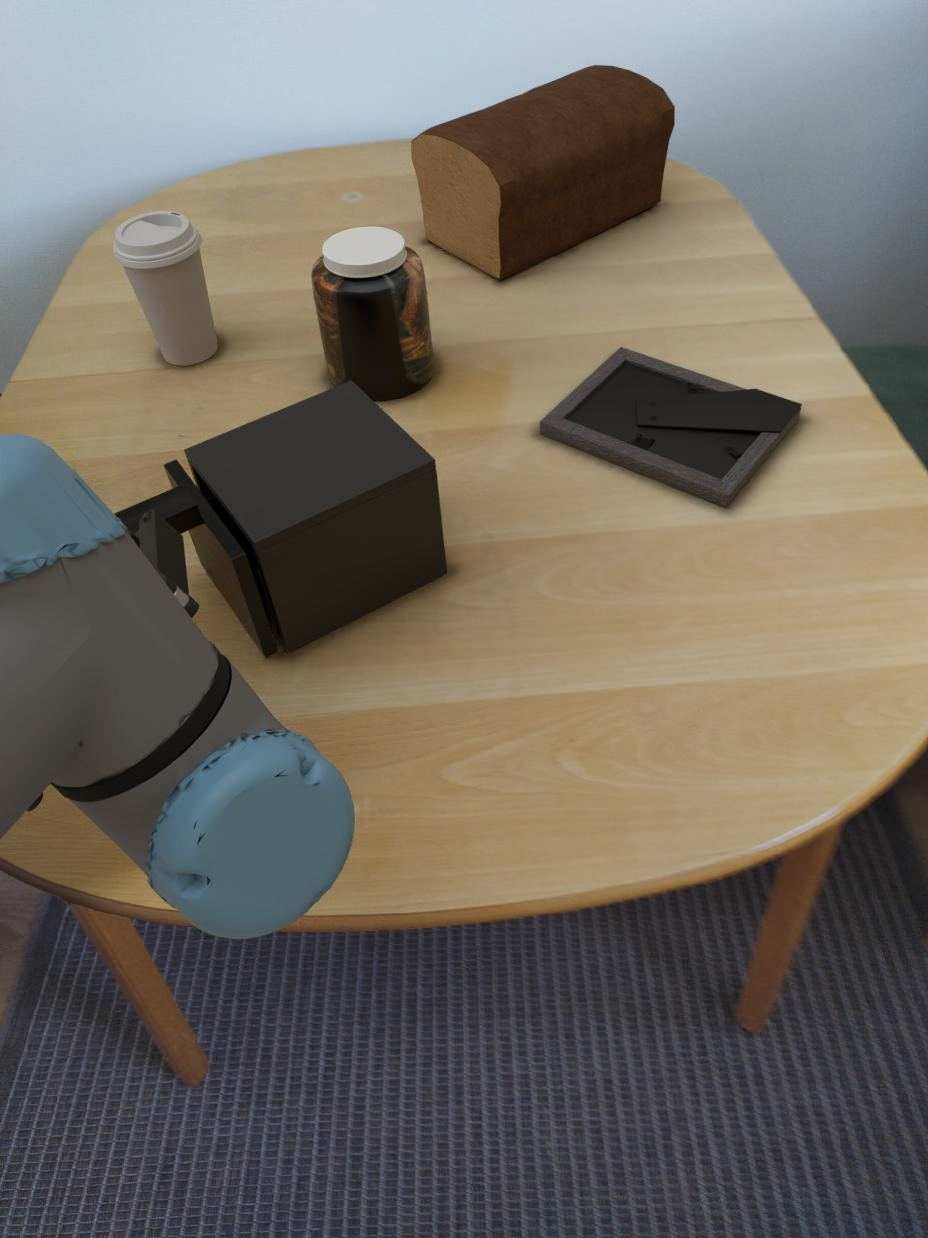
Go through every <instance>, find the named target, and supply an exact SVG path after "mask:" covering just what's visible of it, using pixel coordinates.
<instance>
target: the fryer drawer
mask: <svg viewBox="0 0 928 1238" xmlns="http://www.w3.org/2000/svg"><path fill="white" fill-rule="evenodd" d="M162 466H163V468H164V472H165V473H166V477H167V480H168V481H169V483H170V487H171V488H170V489H168V490H166V491H164V492H162V493H158V494H157V495H154V496H152V497H149V498H147V499H145V500H143V501H140V502H137V503H135V504H133V505H131V506H128V507H126V508H124V509H122V510H119V511H117V512H113V513H114V514H115V515H116V517H117V518H120V519H121V522H122V523H123V524H124V525H125V526H126V527H127V528H128V529H127V531H131V532H132V533H135V532H137V531H139V522H140V520H141V518H142V516H143V515H144V514H145V513H146V512H147V511H149V510H154V511H155V512H156V513H158V514H159V515H160V516H161V517H162V518H163V519H164V520H165V521H167V522H168V523H169V524H170V525H171V526H172V527H173V528H175V529H176V530H177V531H178V532H179V533H180V534H181V535H183V534H184V533H186V532H188V534H189V537H190V539H191V542H192V544H193V547H194V549H195V553H196V555H197V558H198V560H199V563H200V566H202V568H203V569H204V571H205V572H206V574H207V575H208V576H209V578H210V579H211V581H212V582H213V584H214V585H215V588H217V590H218V591H219V593H220V594H221V595H222V597H223V599H224V600H225V602H226V603H227V604H228V606H229V607H230V609H231V610H232V612H233V613H234V615H235V616H236V618H237V619H238V621H239V623H241V625H242V626H243V628H244V629H245V631H246V632H247V634H248V635H249V637H250V638H251V640H252V641H253V642H254V644H255V645H256V647H257V649H258V650H259V651H260V653H261V654H262V656H263V658H265V659H268V658H270V657H271V656H273V655H276V654H278V653H279V650H278V646H277V644H276V641H275V638H274V635H273V631H272V629H271V628H270V625H269V623H270V624H271V626H272V627H273V629H274V630H275V631H276V633H277V634H279V630H278V626H277V623H276V620H275V617H274V614H273V611H272V608H271V604H270V601H269V598H268V595H267V592H266V589H265V585H264V582H263V579H262V576H261V573H260V570H259V566H258V563H257V560H256V557H255V554H254V551H253V547H252V545H251V543H250V542H249V541H248V539H247V538H246V537H245V535H244V534H243V533H242V531H241V530H240V529H239V527H238V526H237V525H236V523H235V522H234V521H233V519H232V518H231V517H230V515H229V514H228V513H227V511H226V510H225V509H224V507H223V506H222V505H221V503H220V502H219V501H218V499H217V498H216V497H215V495H214V494H213V493H212V494H210V495H208V496H205V497H204V496H203V495H202V493H201V492H200V490H199V489H198V488H197V486H196V483H195V481H193V480H192V478H191V476H189V473H187V472H186V470H185V469H184V467H183V466H182V465H181V463H180V461H179V460H178V459H174V460H171V461H169V462H166V463H163V465H162Z"/></svg>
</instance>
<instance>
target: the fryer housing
mask: <svg viewBox="0 0 928 1238" xmlns="http://www.w3.org/2000/svg"><path fill="white" fill-rule="evenodd" d="M183 452H184V455H185V458H186V459H187V463H188V467H189V469H190V473H191V475H192V477H193V480H194V484H195V485H196V486H197V488H198V489H199V490H200V492H201V493H202V495H203V496H204V497H205V496H208V495H210V494H212V493H213V494H214V495H215V497H216V498H217V499H218V501H219V502H220V503H221V505H222V506H223V507H224V509H225V510H226V511H227V513H228V514H229V515H230V517H231V518H232V519H233V521H234V522H235V523H236V525H237V526H238V527H239V529H240V530H241V531H242V533H243V534H244V535H245V537H246V538H247V539H248V541H249V542H250V543H251V545H252V547H253V551H254V554H255V557H256V560H257V563H258V566H259V570H260V573H261V576H262V579H263V582H264V585H265V589H266V592H267V595H268V598H269V601H270V604H271V608H272V611H273V614H274V617H275V620H276V623H277V626H278V630H279V634H277V633H276V631H275V630H274V629H273V627H272V626H271V624H270V623H269V625H270V628H271V631H272V633H274V635H275V636H276V638H277V639H278V640H279V642H280V644H281V645H282V646H283V648H284V649H285V650H286V652H287V653H288V654H291V653H293V652H295V651H297V650H299V649H301V648H303V647H305V646H307V645H308V644H311V643H313V642H315V641H316V640H319V639H320V638H322V637H324V636H326V635H329V634H330V633H332V632H334V631H336V630H338V629H340V628H342V627H344V626H346V625H348V624H350V623H351V622H354V621H356V620H358V619H360V618H362V617H363V616H366V615H367V614H369V613H371V612H374V611H375V610H377V609H379V608H381V607H383V606H385V605H387V604H389V603H391V602H393V601H395V600H397V599H398V598H401V597H403V596H405V595H407V594H408V593H411V592H413V591H415V590H416V589H418V588H420V587H422V586H424V585H426V584H428V583H430V582H433V581H434V580H436V579H438V578H440V577H442V576H443V575H445V574H447V573H448V569H447V567H448V566H447V559H446V547H445V539H444V530H443V529H444V528H443V520H442V510H441V500H440V491H439V481H438V473H437V472H438V471H437V463H436V459H435V457H433V456H432V455H431V454H430V453H429V452H428V451H426V449H425V448H424V447H423V446H421V444H419V442H417V440H415V439H414V438H413V437H412V436H411V435H410V434H409V433H408V432H407V431H406V430H405V429H404V428H402V426H401V425H399V423H397V422H396V421H395V420H394V419H393V417H391V416H390V415H389V414H388V413H387V412H386V411H385V410H384V409H383V408H382V407H380V405H378V403H376V402H375V400H372V399H371V398H370V397H369V396H368V395H367V394H365V393H364V392H363V391H362V390H361V389H360V388H359V387H358V386H357V385H356V384H355V383H354V382H353V381H352V380H351V381H348V382H346V383H344V384H341V385H339V386H336V387H334V386H333V387H332V388H329V389H327V390H324V391H321V392H320V393H316V394H314V395H313V396H309V397H307V398H305V399H303V400H300V401H297V402H296V403H293V404H291V405H288V406H286V407H283V408H281V409H279V410H276V411H273V412H271V413H269V414H267V415H264V416H262V417H259V418H256V419H255V420H252V421H250V422H246V423H244V424H242V425H240V426H237V427H234V428H233V429H231V430H228V431H225V432H223V433H221V434H218V435H216V436H213V437H211V438H209V439H206V440H203V441H201V442H199V443H197V444H194V445H192V446H189V447H186V448H185V449H183Z"/></svg>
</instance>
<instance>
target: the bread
mask: <svg viewBox="0 0 928 1238" xmlns="http://www.w3.org/2000/svg"><path fill="white" fill-rule="evenodd" d="M675 109H676V107H675V105H674V103H673V102H672V100H671V99H670V97H669V95H668V94H667V92H666V91H665V89H664V88H663V87H661V86H660V85H659V84H657V83H656V82H654V81H652V80H651V79H649V78H648V77H647V76H644V75H642V74H640V73H637V72H635V71H632V70H630V69H627V68H623V67H619V66H615V65H606V64H605V65H604V64H593V65H588V66H587V67H584V68H581V69H578V70H575V71H573V72H571V73H568V74H566V75H564V76H562V77H559V78H557V79H554V80H552V81H549V82H546V83H544V84H542V85H537V86H536V87H533V88H531V89H529V90H527V91H525V92H523V93H521V94H519V95H515V96H513V97H509V98H507V99H504V100H502V101H500V102H497V103H495V104H492V105H490V106H487V107H485V108H483V109H482V108H481V109H479V110H475V111H473V112H469V113H467V114H464V115H461V116H459V117H456V118H453V119H451V120H447V121H445V122H442V123H439V124H436V125H433V126H431V127H429V128H427V129H425V130H423V131H422V132H420V133H419V134H417V135H416V137H414V138H413V139H412V140H411V141H410V144H411V145H410V153H411V155H410V156H411V158H410V159H411V162H412V165H413V169H414V173H415V176H416V180H417V181H416V182H417V185H418V190H419V196H420V202H421V210H422V217H423V226H424V232H425V239H426V240H428V241H429V242H430V243H432V244H433V245H434V246H436V247H438V248H440V249H441V250H444V251H445V252H447V253H448V254H451V255H453V256H454V257H456V258H458V259H459V260H461V261H463V262H465V263H467V264H468V265H470V266H472V267H474V268H476V269H478V270H479V271H482V272H483V273H485V274H487V275H488V276H490V277H492V278H494V279H497V280H503V279H506V278H508V277H510V276H512V275H516V274H517V273H519V272H521V271H523V270H525V269H527V268H529V267H531V266H533V265H535V264H537V263H540V262H541V261H544V260H545V259H547V258H549V257H552V256H554V255H556V254H558V253H560V252H561V253H562V251H565V250H567V249H570V248H571V247H573V246H575V245H577V244H579V243H580V242H583V241H584V240H586V239H588V238H591V237H594V236H596V235H598V234H599V233H603V232H604V231H606V230H608V229H609V228H612V227H614V226H616V225H617V224H620V223H621V222H623V221H625V220H627V219H630V218H631V217H634V216H636V215H639V214H640V213H642V212H644V211H645V210H648V209H650V208H651V207H653V206H655V205H657V204H659V203H660V202H661V201H662V192H663V191H662V190H663V189H662V188H663V181H664V173H665V168H666V161H667V155H668V151H669V144H670V140H671V137H672V134H673V131H674V128H675V123H676V122H675V120H676V119H675V116H676V112H675V111H676V110H675Z"/></svg>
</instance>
